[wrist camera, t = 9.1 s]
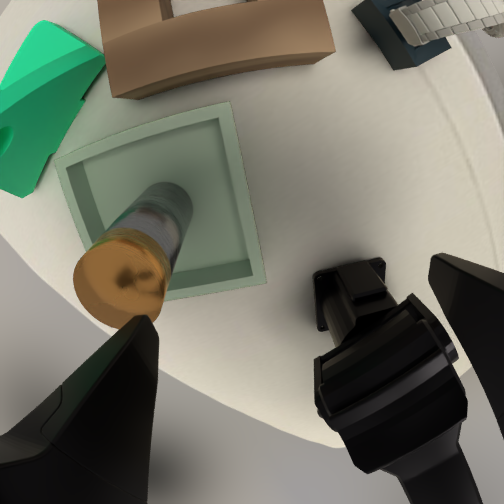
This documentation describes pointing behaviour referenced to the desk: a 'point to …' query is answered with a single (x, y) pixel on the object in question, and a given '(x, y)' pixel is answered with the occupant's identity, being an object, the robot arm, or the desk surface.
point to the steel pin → (135, 257)
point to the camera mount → (41, 101)
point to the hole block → (206, 41)
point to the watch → (425, 25)
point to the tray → (186, 176)
